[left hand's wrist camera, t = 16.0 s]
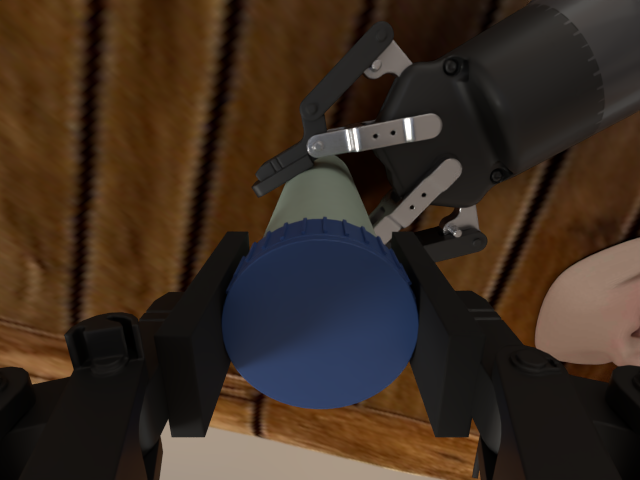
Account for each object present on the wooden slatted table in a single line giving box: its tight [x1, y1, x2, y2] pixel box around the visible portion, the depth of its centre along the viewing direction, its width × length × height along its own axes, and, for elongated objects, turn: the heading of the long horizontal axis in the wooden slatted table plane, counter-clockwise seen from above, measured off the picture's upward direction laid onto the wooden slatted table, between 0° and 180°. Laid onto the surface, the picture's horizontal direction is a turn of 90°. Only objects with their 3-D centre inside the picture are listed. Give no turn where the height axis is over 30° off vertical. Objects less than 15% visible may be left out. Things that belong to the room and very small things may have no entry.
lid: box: [221, 217, 419, 409], centre depth 11 cm, size 5×6×2 cm
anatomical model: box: [535, 237, 640, 366], centre depth 30 cm, size 13×4×12 cm
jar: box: [263, 155, 377, 238], centre depth 19 cm, size 5×5×19 cm
